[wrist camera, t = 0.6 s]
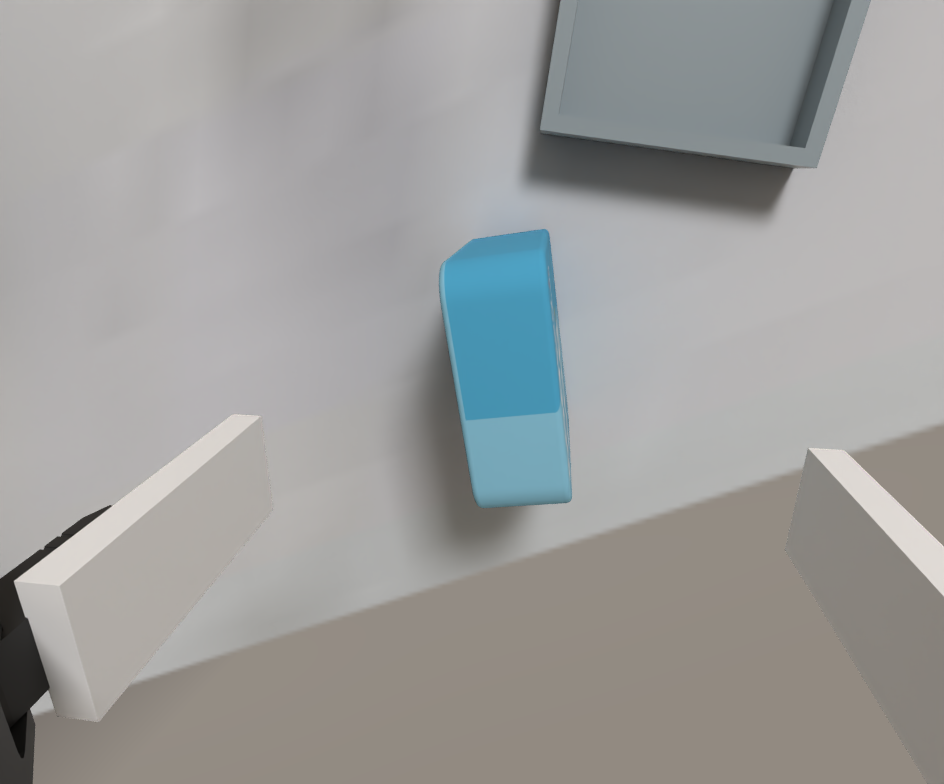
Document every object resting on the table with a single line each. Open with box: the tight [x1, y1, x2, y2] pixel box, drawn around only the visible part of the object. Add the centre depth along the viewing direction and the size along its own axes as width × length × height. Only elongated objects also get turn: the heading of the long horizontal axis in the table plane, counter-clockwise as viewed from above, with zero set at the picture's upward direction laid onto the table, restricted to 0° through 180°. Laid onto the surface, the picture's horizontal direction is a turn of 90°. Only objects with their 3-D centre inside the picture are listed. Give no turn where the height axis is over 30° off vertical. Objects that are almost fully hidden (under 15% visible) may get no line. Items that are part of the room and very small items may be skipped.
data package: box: [439, 229, 572, 508], centre depth 31 cm, size 12×4×12 cm, turn 9°
